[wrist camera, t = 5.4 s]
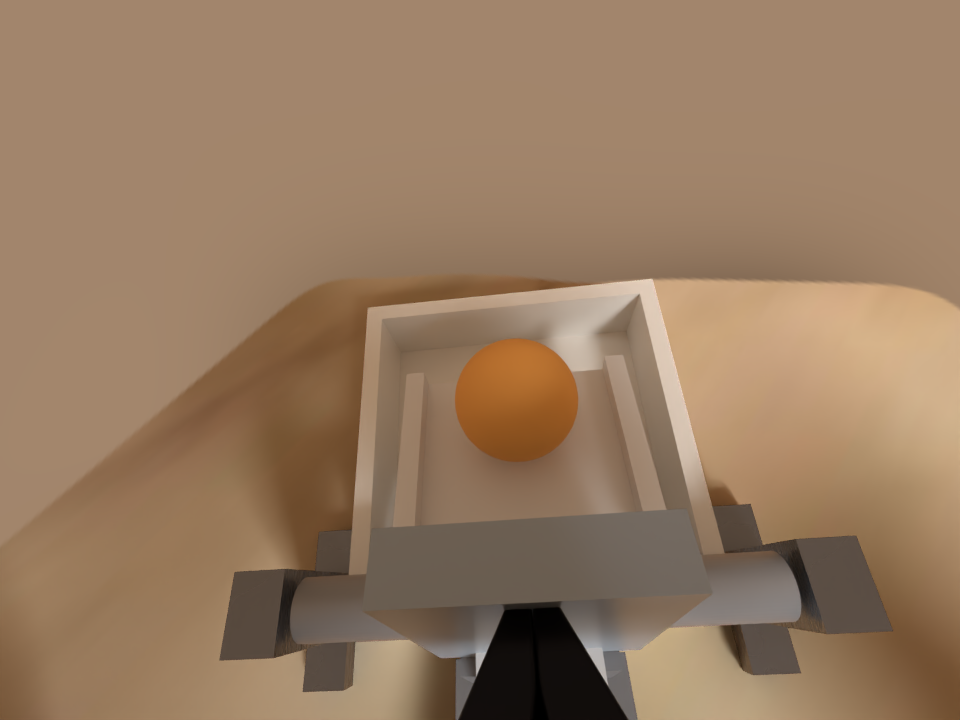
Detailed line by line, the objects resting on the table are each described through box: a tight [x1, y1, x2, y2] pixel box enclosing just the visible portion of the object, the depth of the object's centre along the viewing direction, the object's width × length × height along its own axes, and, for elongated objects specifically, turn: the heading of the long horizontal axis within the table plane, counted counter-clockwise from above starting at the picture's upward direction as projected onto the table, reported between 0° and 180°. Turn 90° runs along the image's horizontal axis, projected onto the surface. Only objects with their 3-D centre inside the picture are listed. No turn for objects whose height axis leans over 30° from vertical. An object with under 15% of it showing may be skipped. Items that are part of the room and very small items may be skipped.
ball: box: [455, 338, 578, 462], centre depth 13 cm, size 4×4×4 cm
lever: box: [290, 355, 801, 720], centre depth 11 cm, size 14×12×10 cm
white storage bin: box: [349, 279, 725, 575], centre depth 17 cm, size 11×11×4 cm
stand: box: [220, 504, 893, 692], centre depth 14 cm, size 5×16×6 cm, turn 93°
